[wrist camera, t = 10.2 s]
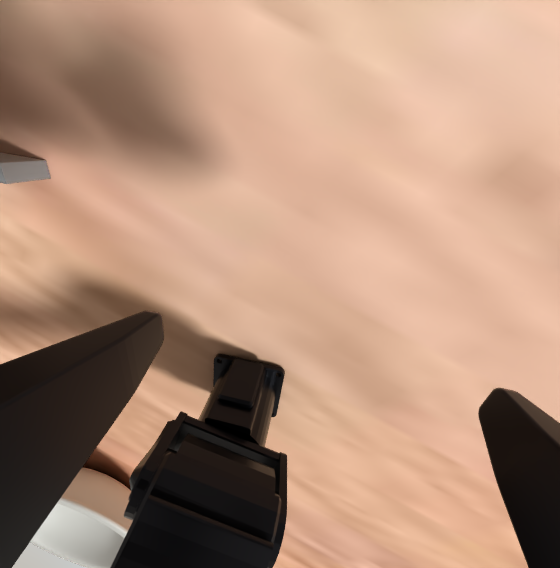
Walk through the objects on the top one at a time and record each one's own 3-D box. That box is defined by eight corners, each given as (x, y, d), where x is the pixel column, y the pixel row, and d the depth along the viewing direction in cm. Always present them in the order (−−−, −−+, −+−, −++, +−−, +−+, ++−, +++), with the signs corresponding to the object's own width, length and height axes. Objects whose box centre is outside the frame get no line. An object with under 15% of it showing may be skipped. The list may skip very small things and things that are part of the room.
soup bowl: (3, 446, 42) (-49, 494, 36) (103, 423, 34) (56, 480, 28) (106, 523, 50) (77, 573, 44) (206, 520, 42) (186, 580, 36)
